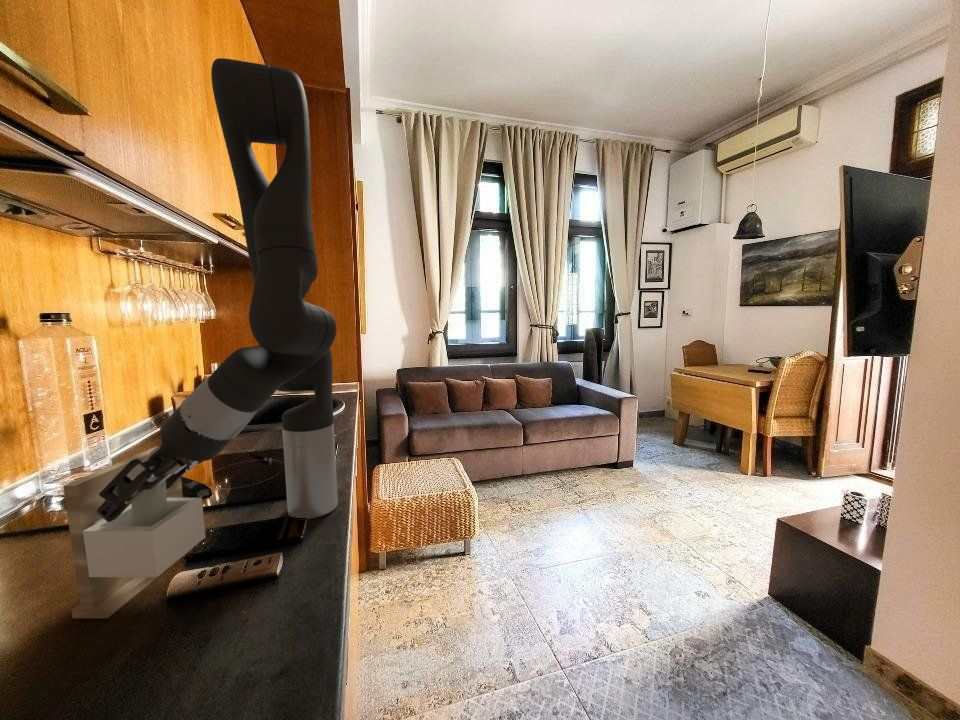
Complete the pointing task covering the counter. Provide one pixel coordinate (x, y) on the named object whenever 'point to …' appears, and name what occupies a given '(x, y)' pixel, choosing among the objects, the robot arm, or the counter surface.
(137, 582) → the oak board
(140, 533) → the grey open box
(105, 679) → the counter surface
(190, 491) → the electric trimmer
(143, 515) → the pale green rounded cylinder
